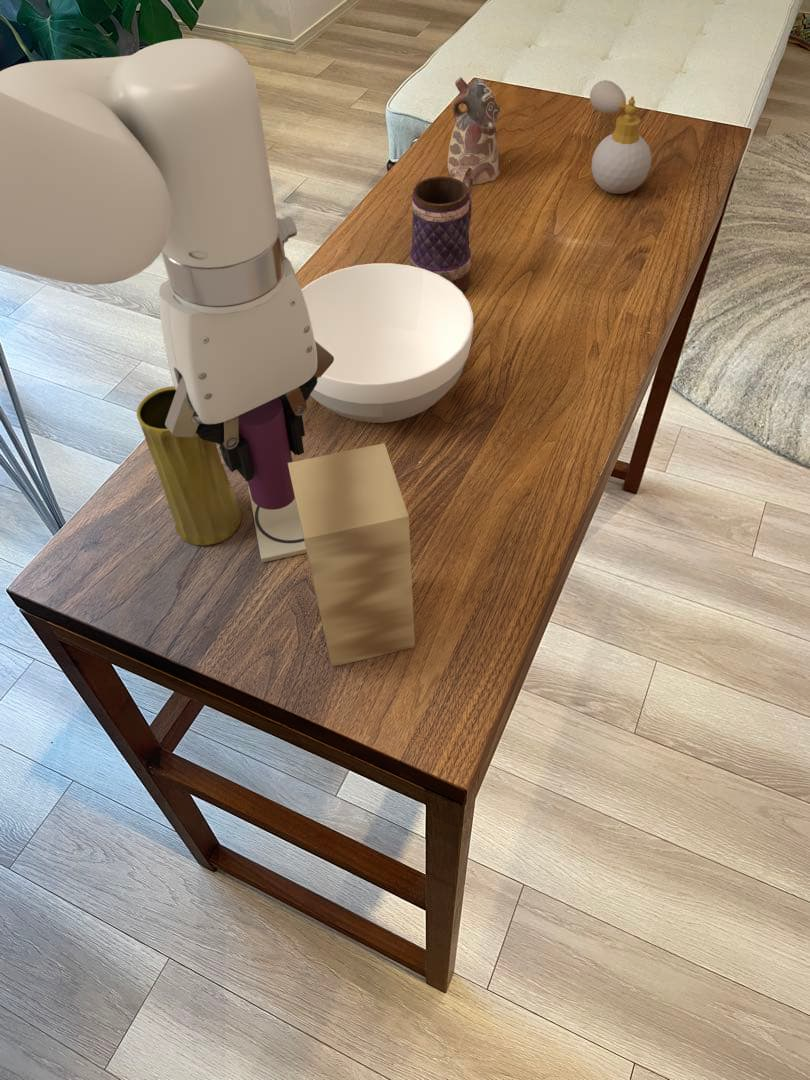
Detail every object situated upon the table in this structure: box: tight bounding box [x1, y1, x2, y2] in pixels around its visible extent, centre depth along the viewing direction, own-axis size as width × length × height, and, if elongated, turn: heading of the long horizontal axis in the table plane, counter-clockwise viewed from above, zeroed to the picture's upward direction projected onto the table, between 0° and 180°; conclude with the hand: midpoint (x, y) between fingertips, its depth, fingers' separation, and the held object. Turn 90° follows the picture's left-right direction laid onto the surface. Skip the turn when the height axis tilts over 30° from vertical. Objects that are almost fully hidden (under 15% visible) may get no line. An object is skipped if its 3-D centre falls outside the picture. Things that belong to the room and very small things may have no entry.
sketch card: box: [247, 485, 307, 563], centre depth 77 cm, size 11×9×1 cm
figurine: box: [447, 77, 501, 186], centre depth 109 cm, size 7×7×12 cm
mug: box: [409, 164, 474, 293], centre depth 95 cm, size 10×7×12 cm
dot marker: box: [239, 397, 295, 510], centre depth 68 cm, size 4×4×11 cm
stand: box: [288, 442, 416, 668], centre depth 63 cm, size 7×7×17 cm
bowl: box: [301, 262, 475, 424], centre depth 84 cm, size 19×19×9 cm
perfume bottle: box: [589, 79, 652, 195], centre depth 106 cm, size 8×10×12 cm
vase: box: [136, 385, 242, 547], centre depth 72 cm, size 6×6×14 cm
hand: (266, 455), depth 68 cm, fingers closed on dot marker, 4 cm apart
